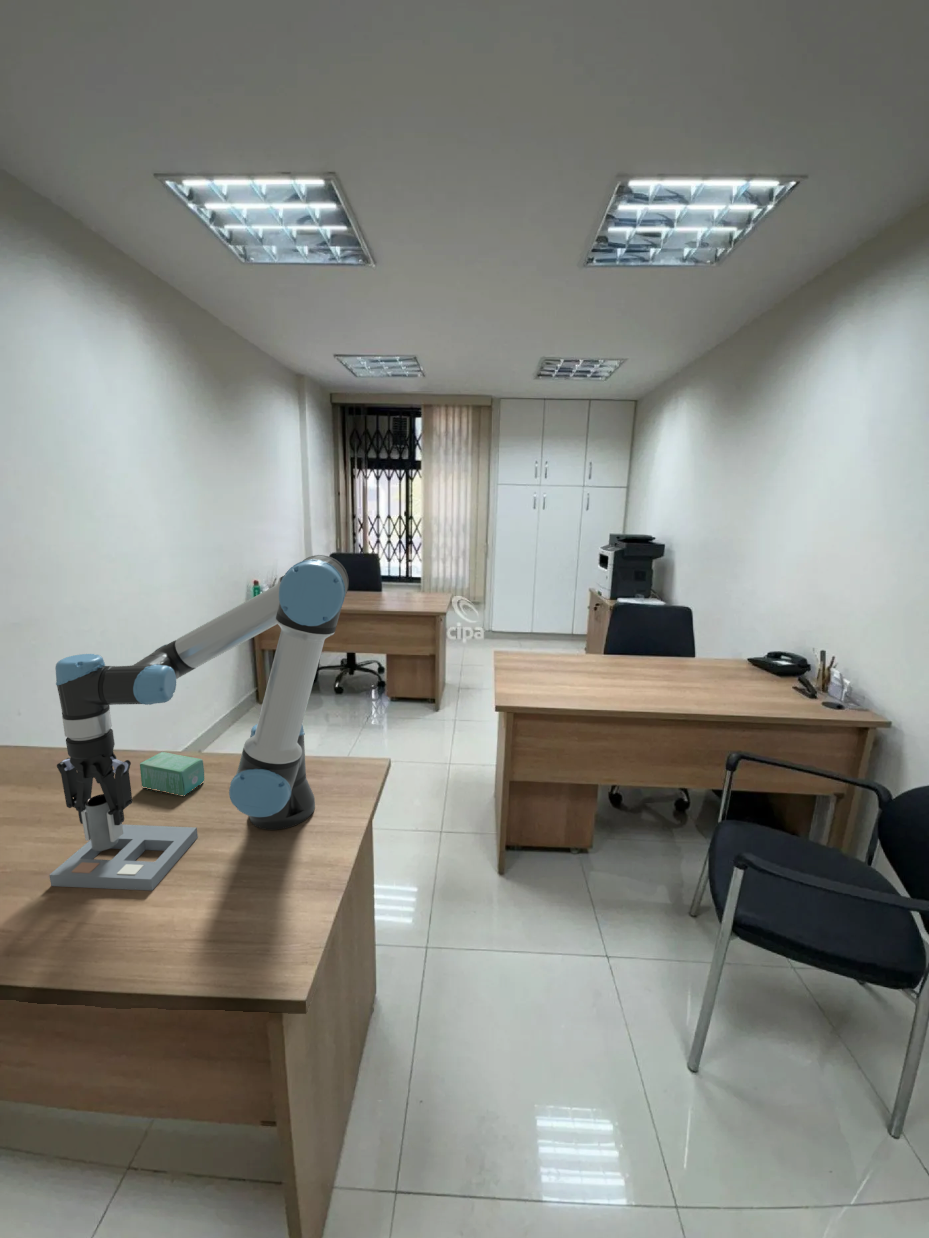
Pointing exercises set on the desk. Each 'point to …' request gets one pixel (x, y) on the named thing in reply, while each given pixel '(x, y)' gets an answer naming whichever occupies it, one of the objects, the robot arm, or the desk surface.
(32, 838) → the desk surface
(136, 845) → the socket board
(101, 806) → the grey hollow cylinder
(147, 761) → the box
